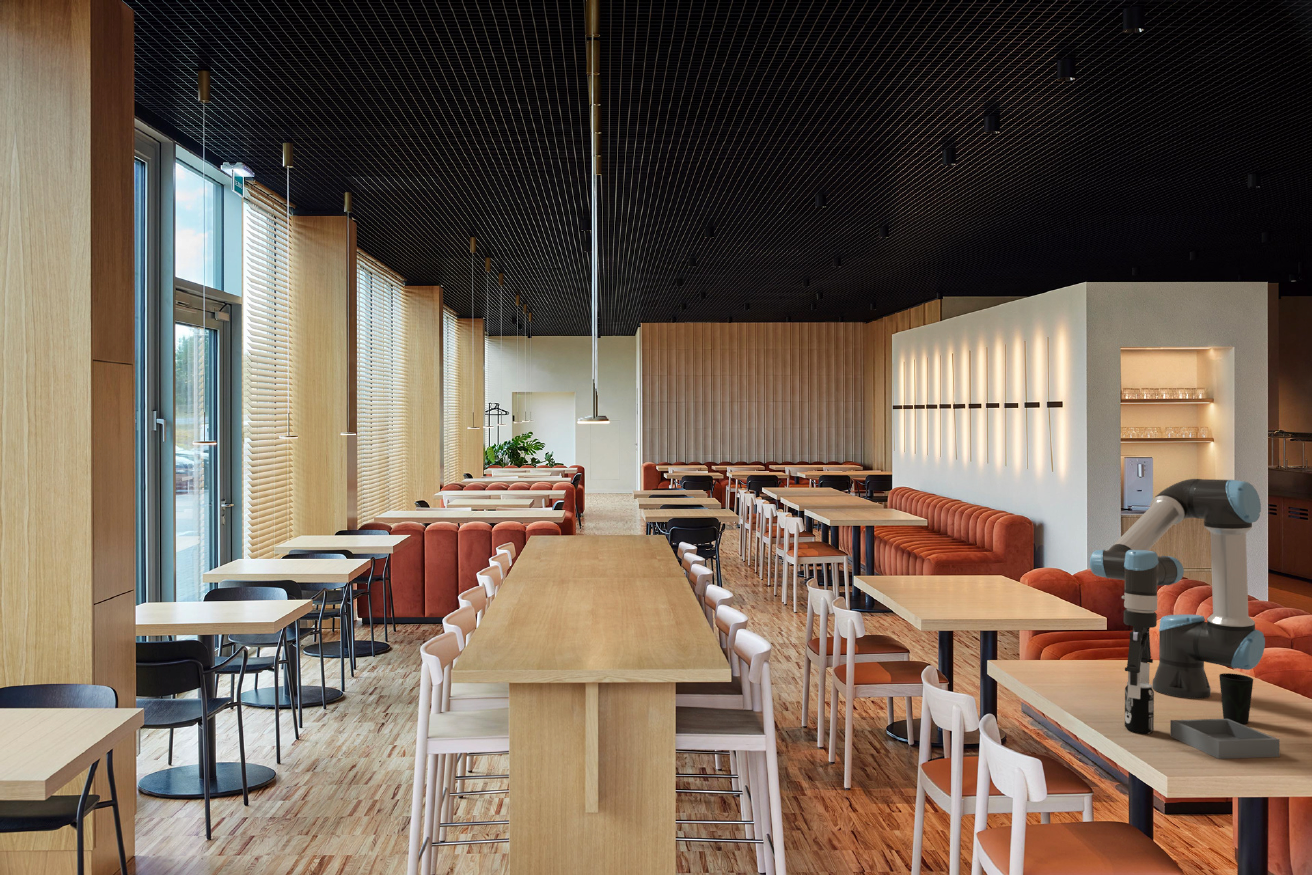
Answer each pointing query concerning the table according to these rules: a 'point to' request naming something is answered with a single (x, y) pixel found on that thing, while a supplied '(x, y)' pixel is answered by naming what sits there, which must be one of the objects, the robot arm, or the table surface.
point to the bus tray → (1224, 738)
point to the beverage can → (1140, 710)
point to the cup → (1236, 697)
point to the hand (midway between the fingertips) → (1138, 692)
